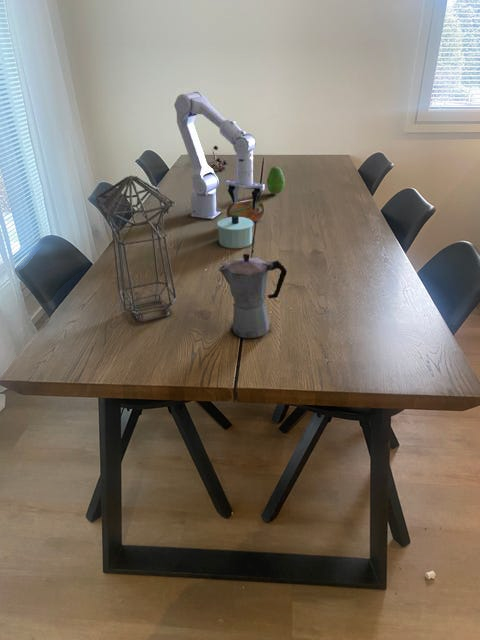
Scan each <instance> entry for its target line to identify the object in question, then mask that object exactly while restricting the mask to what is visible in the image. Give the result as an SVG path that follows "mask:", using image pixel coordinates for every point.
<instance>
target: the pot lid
mask: <svg viewBox="0 0 480 640" xmlns="http://www.w3.org/2000/svg"><path fill="white" fill-rule="evenodd" d="M253 226H254V222H253V221H252V220H250V219H248V218H244V217H239V216H236V215H234V216H232V217H228V218H227V217H224V218H221V219H219V220H218V221H217V227H218V229H219V228H221V229H224V230H229V231H240V230H246V229H249V228H251V227H252V228H253Z"/></svg>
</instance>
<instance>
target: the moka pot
mask: <svg viewBox="0 0 480 640" xmlns="http://www.w3.org/2000/svg"><path fill="white" fill-rule="evenodd" d="M277 269H278V270H280V273H279V277H278V279H277V283H276V288H275V290H274V292H273V293H271V294H268V295H267V297H268V299H277V298H279V295H280V292H281V290H282V286H283V283H284V281H285V279H286V275H287V268H286V267H285V265H282V263H281V262H280V261H279V260H274V261H264V260H263V259H262V258H258V257H250V254H249V253H244V254H242V257H241V258H236V259H232V260H231V261H230V262H229V263H225V264H222V266H220V267H219V268H218V271H219V272H220V273H221V274H222V276H223V277H224V279H225V281H226V283H227V284H228V285H229V289H230V294H231V296H232V297H233V302H234V303H233V304H232V305H233V317H232V331H233V332H234V334H235V335H236V336H238V337H240V338H242V339H243V338H245V339H255V338H259V337H262V336H265V334H267V333H268V332H269V329H270V323H269V322H270V321H269V317H268V312H267V307H266V302H265V299H266V295H265V294H266V291H267V283H268V282H267V281H268V272H269V271H274V270H277Z"/></svg>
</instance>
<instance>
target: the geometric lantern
mask: <svg viewBox="0 0 480 640" xmlns="http://www.w3.org/2000/svg"><path fill="white" fill-rule="evenodd" d="M135 183H136V184H137V185H138V186H140V187H141V188H142V190H139V191H138V189H137V186H136V184H135ZM114 189H115V190H114ZM113 190H114V191H113ZM128 190H129V192H128ZM111 191H113V192H112V193H111V194H108V193H110V192H111ZM133 191H134V192H135V194H133ZM128 193H129V195H127V194H128ZM143 193H145V194H143ZM140 194H143V196H142V197H141V196H140ZM149 194H150V195H152V196H153V197H154V198H156V199H157V200H158V201H159V206H158V207H154V208H150V209H145V206H144V203H143V201H144V200H145V199H146V197H148V195H149ZM100 198H102V199H105V201H104V202H103V201H102V199H100ZM119 198H120V199H119ZM124 198H125V203H122V200H123V199H124ZM133 198H136V204H133ZM118 199H119V201H117V200H118ZM128 199H129V204H128ZM95 200H96V202H97V204H98V206H99V209H100V210H101V212H102V215H103V217H104V218H105V221H107V223H108V226H109V227H110V229H111V234H112V245H113V253H114V265H115V273H116V281H117V292H118V296H119V298H120V301H121V304H122V307H123V310H124V311H125V312H129V313H132V314H133V315H134V317H135V318H136V320H137V322H139V323H143V322H147V321H153V320H155V319H160V318H164V317H168V316H169V315H170V310H169V309H170V307H171V306H172V305H173V304H174V303H175V302H176V300H177V294H176V289H175V283H174V282H175V281H174V277H173V276H174V275H173V270H172V265H171V259H170V253H169V247H168V241H167V237H168V234H167V233H166V231H165V230H164V215H166V214H169V210H170V208H173V207H174V206H176V205H177V203H176V202H175V201H173V200H171V199H170V198H169V197H167V196H166V195H164V194H163V193H161V191H160V188H158V187H157V186H154V185H153V184H150V183H149V182H148V181H145V180H144V179H141V178H140V177H139V176H137V175H129V176H125V177H124V178H122V179H121V180H119V181H118V182H117V183H116V184H114V185H112V186H111V187H109V188H108V189H106V190H105V191H102V193H100V194H99V195H97V196H96V197H95ZM115 204H117V205H116V208H115V210H114V211H113V212H111V210H112V209H113V207H114V205H115ZM139 205H140V208H141V209H140V208H139V207H138V206H139ZM119 206H122V207H123V210H122V211H118V208H119ZM127 208H129V210H127ZM133 208H136V209H133ZM156 211H157V212H156ZM110 212H111V213H110ZM153 212H156V213H154V214H153V215H152V216H150V217H148V213H153ZM136 213H140V214H141V215H142V216H143V217H144V219H145V220H144V221H140V222H136V219H135V215H134V214H136ZM127 214H128V215H130V216H131V218H132V220H133V222H132V221H130V220H129V219H126V218H125V217H124V216H125V215H127ZM120 215H121V216H120ZM109 216H112V217H114V218H117V219H118V220H119V223H118V227H115V228H114V226H113V224H112V222H111V220H110V219H109ZM156 217H158V220H157V222H152V220H153V219H155V218H156ZM123 222H125V223H127V224H129V225H124V226H122V223H123ZM160 223H161V225H160ZM145 225H149V226H150V231H151V232H150V233H151V239H149V238H148V239H142V240H137V241H130V242H125V241H126V238H127V237H128V235H129V233H130V232H131V230H132V229H133V228H134V227H138V226H145ZM126 228H129V229H128V231H127V233H126V234H125V235H124V237H123V239H122V236H121V229H126ZM159 229H160V230H161V235H160V231H159ZM116 231H117V232H116ZM155 235H156V236H157V238H155ZM162 240H163V243H164V249H165V253H166V254H165V255H166V259H167V265H168V270H169V276H170V281H171V286H170V284H169V279H168V273H167V268H166V263H165V257H164V252H163V246H162ZM116 241H117V242H116ZM156 241H158V247H159V253H160V258H161V262H162V263H161V264H162V269H163V275H164V281H160V280H159V270H158V269H159V268H158V260H157V259H158V258H157V251H156V243H155V242H156ZM148 242H152V250H153V259H154V268H155V277H156V279H155V280H156V281H152V282H147V283H142V284H136V285H133V283H132V278H131V277H132V276H131V272H130V265H129V259H128V254H127V249H126V246H127V245H132V244H139V243H148ZM117 251H118V254H117ZM123 254H124V256H123ZM118 261H119V263H118ZM124 263H125V264H124ZM124 265H125V267H126V272H127V276H128V277H127V278H128V284H129V286H128V287H127V285H126V274H125V267H124ZM120 281H121V282H120ZM159 284H161V285H164V286H163V288H162V290H161V291H160V293H159V294H158V291H159ZM150 285H156V289H155V293H154V294H150V295H146V296H143V297H139V298H135V295H134V289H135V288H141V287H146V286H150ZM171 287H172V288H171ZM165 289H166V290H167V296H168V303H167V302H166V301H165V299H164V298H163V297H162V296H161V295H162V294H163V292H164V290H165ZM128 290H130V293H129V291H128ZM126 294H127V296H128V298H127V297H126ZM171 295H172V297H173V299H172V297H171ZM151 297H154V300H150V301H146V302H142V303H137V304H136V301H139V300H143V299H147V298H151ZM157 297H158V299H157ZM127 302H129V307H130V308H127ZM155 302H160V304H157V305H152V306H146V307H141V308H137V307H138V306H142V305H147V304H152V303H155ZM151 309H153V310H151ZM146 310H149V311H146ZM162 310H165V314H163V315H158V316H155V317H150V318H147V319H144V315H145V314H146V315H147V314H150V313H151V314H152V313H154V312H158V311H162ZM142 311H143V312H142ZM140 317H141V319H140Z"/></svg>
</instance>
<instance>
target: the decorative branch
mask: <svg viewBox="0 0 480 640" xmlns="http://www.w3.org/2000/svg"><path fill="white" fill-rule="evenodd" d="M213 150H214V151H212V154H211V157H212V158H213V160H214V161H212V163H213V164H214V165H213V166H210V167H211V168H212V169H213V171H214V170H215V167H216V168H217V169H218V172H219V173H221V172H224V170H225V169H226V167H225V166H224V165H227V164H228V161H227V160H226V159H223V160H221V159H222V157H221V156H219V155H218V153H215V151H218V150H219V147H218V145H214V146H213Z"/></svg>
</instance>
